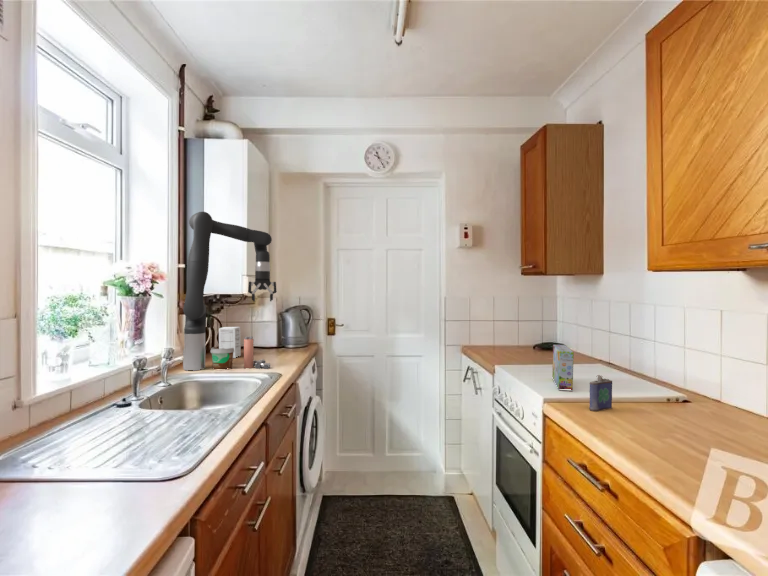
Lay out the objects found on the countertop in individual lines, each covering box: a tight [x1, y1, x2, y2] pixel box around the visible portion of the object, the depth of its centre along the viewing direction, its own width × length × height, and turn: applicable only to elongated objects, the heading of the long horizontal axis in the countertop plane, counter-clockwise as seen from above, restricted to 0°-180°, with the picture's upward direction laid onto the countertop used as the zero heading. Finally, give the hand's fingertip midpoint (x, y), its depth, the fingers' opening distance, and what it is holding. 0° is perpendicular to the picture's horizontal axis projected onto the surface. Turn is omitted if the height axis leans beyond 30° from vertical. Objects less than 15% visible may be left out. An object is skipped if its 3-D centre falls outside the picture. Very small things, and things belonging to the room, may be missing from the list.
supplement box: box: [218, 326, 242, 359], centre depth 233 cm, size 10×9×17 cm
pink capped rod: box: [243, 336, 254, 369], centre depth 201 cm, size 4×4×15 cm
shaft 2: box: [254, 362, 271, 370], centre depth 200 cm, size 7×3×3 cm, turn 81°
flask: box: [589, 374, 613, 412], centre depth 131 cm, size 9×3×11 cm, turn 115°
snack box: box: [552, 344, 575, 390], centre depth 164 cm, size 21×6×15 cm, turn 164°
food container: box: [209, 346, 234, 370], centre depth 198 cm, size 12×6×10 cm, turn 73°
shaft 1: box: [253, 358, 266, 367], centre depth 207 cm, size 7×3×3 cm, turn 156°
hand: (262, 301), depth 217 cm, fingers open, 8 cm apart
